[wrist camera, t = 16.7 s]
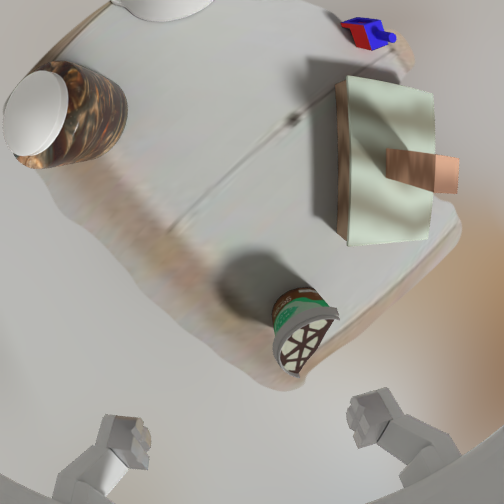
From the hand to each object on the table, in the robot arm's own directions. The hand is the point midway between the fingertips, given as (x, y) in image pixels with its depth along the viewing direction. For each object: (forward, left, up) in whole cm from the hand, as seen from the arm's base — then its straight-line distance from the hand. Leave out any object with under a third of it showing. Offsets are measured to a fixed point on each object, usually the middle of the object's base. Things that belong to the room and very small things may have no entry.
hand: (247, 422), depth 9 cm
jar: (-16, -18, -31) cm, 40 cm away
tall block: (-7, +23, -26) cm, 35 cm away
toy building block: (-27, +21, -31) cm, 46 cm away
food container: (+16, +8, -31) cm, 36 cm away
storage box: (-7, +23, -31) cm, 39 cm away
